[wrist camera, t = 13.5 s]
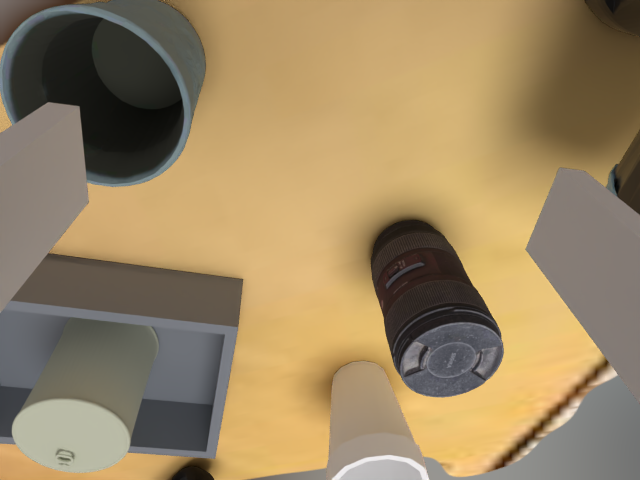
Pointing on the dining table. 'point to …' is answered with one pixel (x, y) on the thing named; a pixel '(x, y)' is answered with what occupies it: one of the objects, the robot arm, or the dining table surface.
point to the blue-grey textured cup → (110, 81)
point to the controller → (192, 474)
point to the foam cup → (369, 429)
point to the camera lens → (432, 312)
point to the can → (87, 396)
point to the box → (141, 309)
